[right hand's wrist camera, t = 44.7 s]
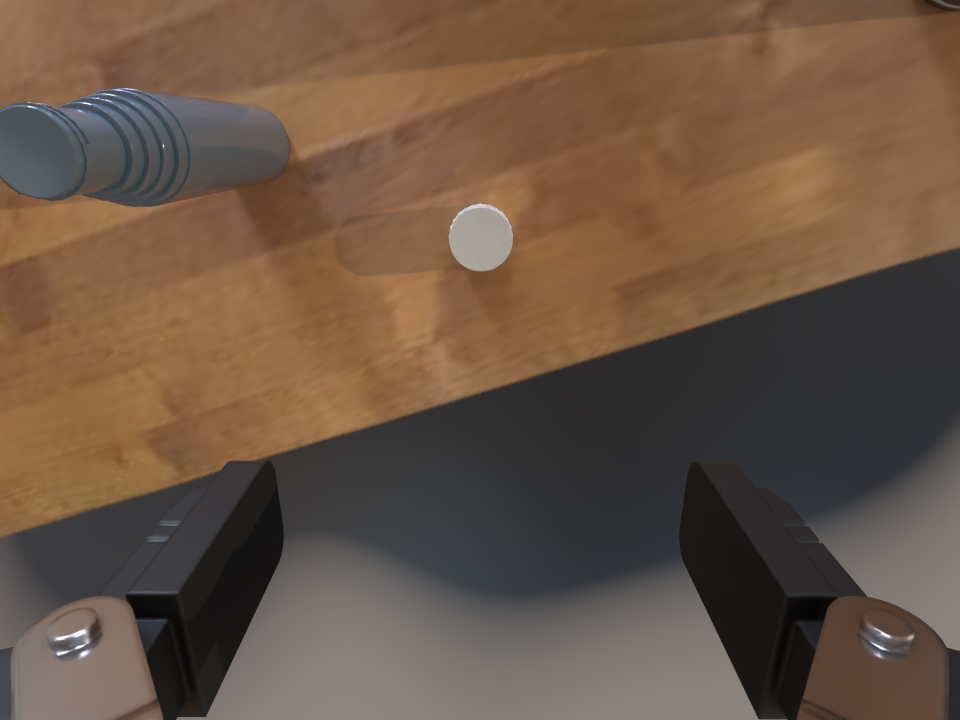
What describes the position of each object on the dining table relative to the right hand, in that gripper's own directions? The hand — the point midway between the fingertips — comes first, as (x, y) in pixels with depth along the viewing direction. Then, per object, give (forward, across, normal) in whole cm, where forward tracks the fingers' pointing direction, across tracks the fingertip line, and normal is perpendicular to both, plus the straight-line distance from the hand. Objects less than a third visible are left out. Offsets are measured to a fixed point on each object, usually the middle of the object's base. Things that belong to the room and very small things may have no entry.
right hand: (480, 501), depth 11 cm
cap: (+31, 0, 0) cm, 31 cm away
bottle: (+33, +15, -6) cm, 37 cm away
